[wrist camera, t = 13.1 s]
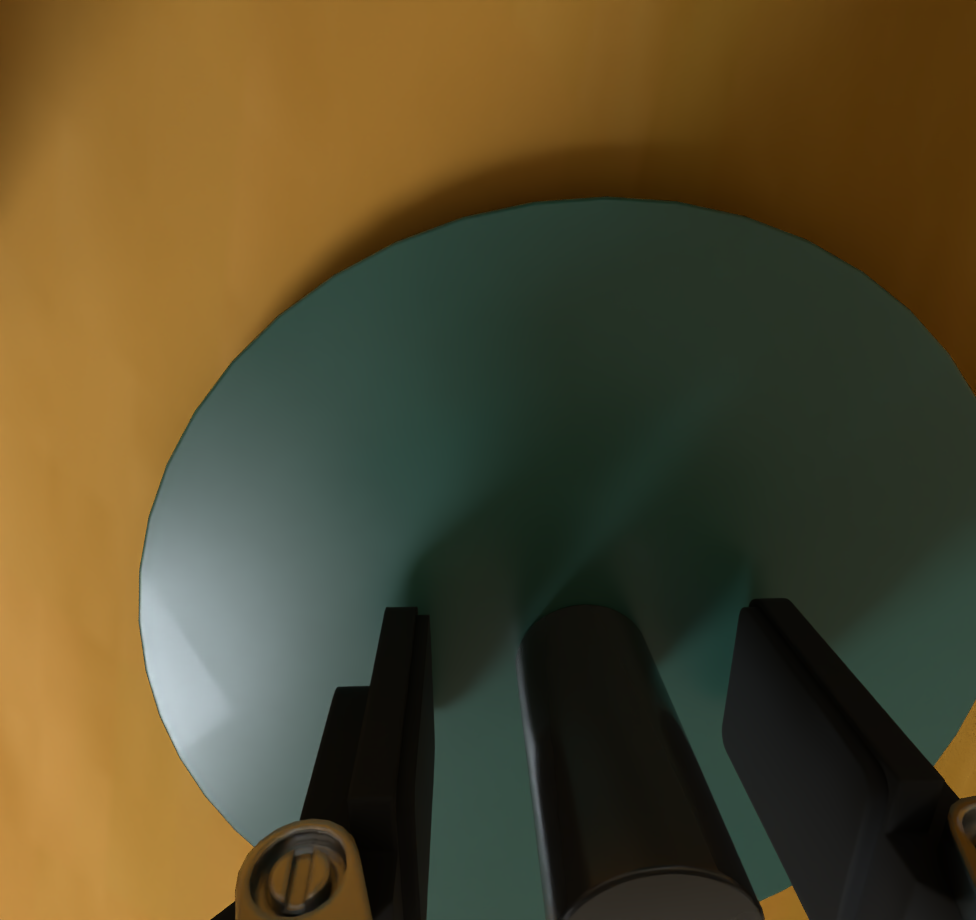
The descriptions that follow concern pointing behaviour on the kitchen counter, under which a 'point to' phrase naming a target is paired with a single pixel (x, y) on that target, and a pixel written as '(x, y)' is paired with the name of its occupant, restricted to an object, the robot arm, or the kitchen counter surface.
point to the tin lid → (565, 538)
